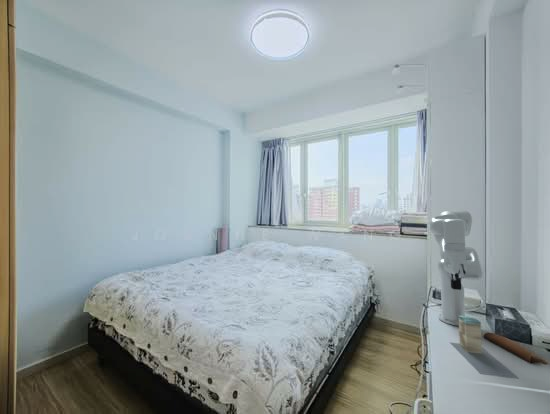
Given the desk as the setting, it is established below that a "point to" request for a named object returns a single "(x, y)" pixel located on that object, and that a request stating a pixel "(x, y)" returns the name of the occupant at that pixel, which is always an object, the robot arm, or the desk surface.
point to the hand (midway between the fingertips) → (456, 288)
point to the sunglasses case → (514, 348)
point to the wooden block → (470, 334)
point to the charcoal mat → (485, 363)
